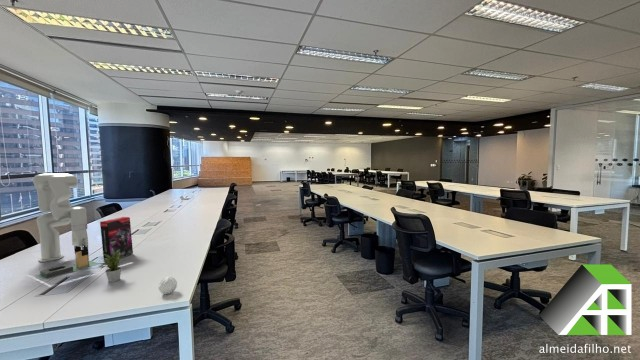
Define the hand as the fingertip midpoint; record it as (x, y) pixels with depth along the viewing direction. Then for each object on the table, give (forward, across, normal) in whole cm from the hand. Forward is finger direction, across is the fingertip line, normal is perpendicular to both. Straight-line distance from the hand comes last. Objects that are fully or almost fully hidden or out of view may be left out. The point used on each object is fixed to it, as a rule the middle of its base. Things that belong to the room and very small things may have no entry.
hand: (81, 254), depth 168 cm
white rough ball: (+11, +82, +4) cm, 83 cm away
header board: (+9, -2, -6) cm, 11 cm away
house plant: (+10, +38, 0) cm, 40 cm away
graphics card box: (+9, -1, +20) cm, 22 cm away
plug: (+7, -1, 0) cm, 8 cm away
